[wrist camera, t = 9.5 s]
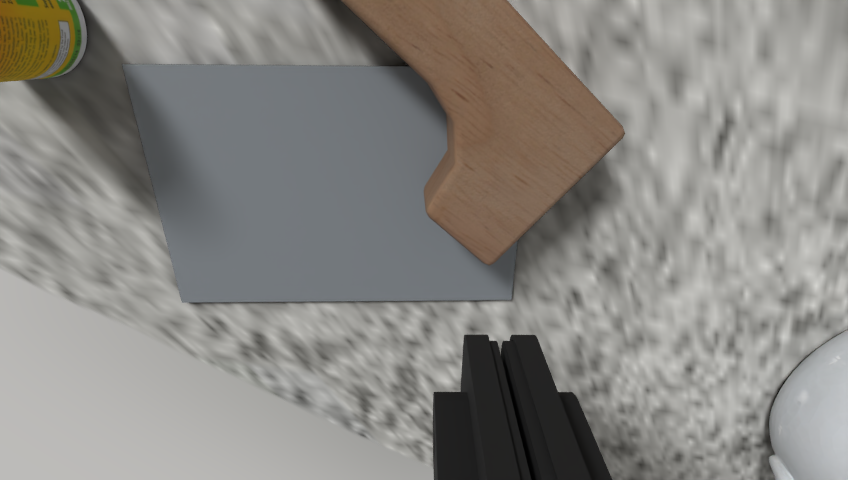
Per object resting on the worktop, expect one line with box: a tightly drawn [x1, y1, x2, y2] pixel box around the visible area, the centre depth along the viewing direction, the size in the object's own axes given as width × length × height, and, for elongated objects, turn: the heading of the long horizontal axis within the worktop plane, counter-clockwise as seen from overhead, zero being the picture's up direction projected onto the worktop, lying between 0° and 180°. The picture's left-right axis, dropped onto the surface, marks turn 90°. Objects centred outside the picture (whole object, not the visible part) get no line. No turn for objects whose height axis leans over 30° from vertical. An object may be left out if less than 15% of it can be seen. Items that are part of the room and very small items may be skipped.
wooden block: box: [341, 0, 625, 265], centre depth 20 cm, size 9×4×18 cm
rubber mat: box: [122, 64, 518, 302], centre depth 25 cm, size 21×14×1 cm, turn 90°
